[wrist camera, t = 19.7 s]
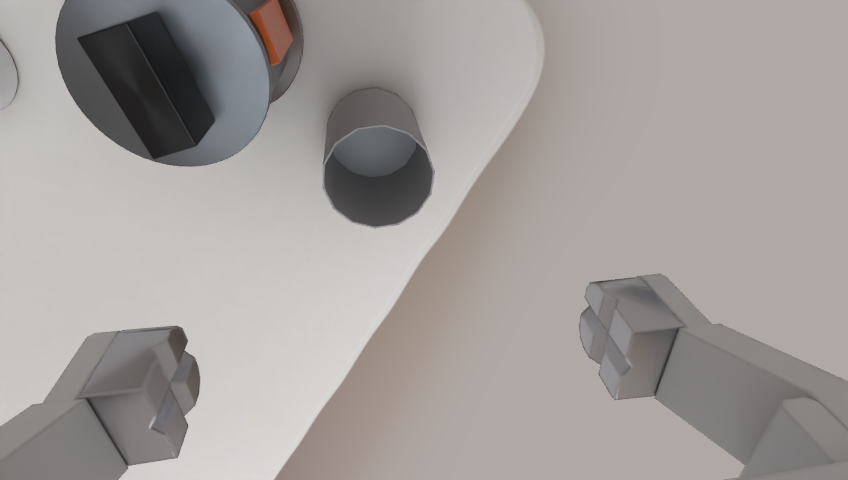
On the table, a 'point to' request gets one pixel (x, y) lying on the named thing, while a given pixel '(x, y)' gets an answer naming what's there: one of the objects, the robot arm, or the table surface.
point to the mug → (7, 77)
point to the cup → (375, 160)
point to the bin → (174, 72)
